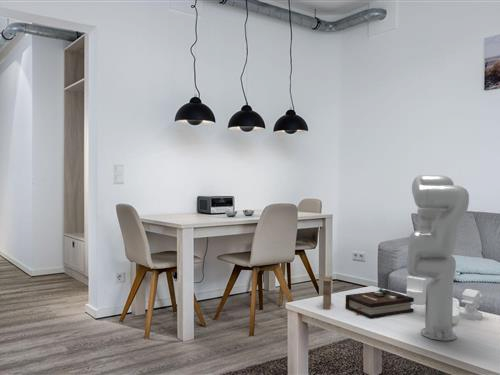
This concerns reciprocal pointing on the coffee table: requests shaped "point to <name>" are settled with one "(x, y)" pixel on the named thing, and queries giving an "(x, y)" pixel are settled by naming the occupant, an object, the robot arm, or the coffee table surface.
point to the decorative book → (379, 303)
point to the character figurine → (471, 304)
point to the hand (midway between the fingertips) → (428, 269)
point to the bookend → (327, 292)
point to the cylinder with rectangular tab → (416, 290)
